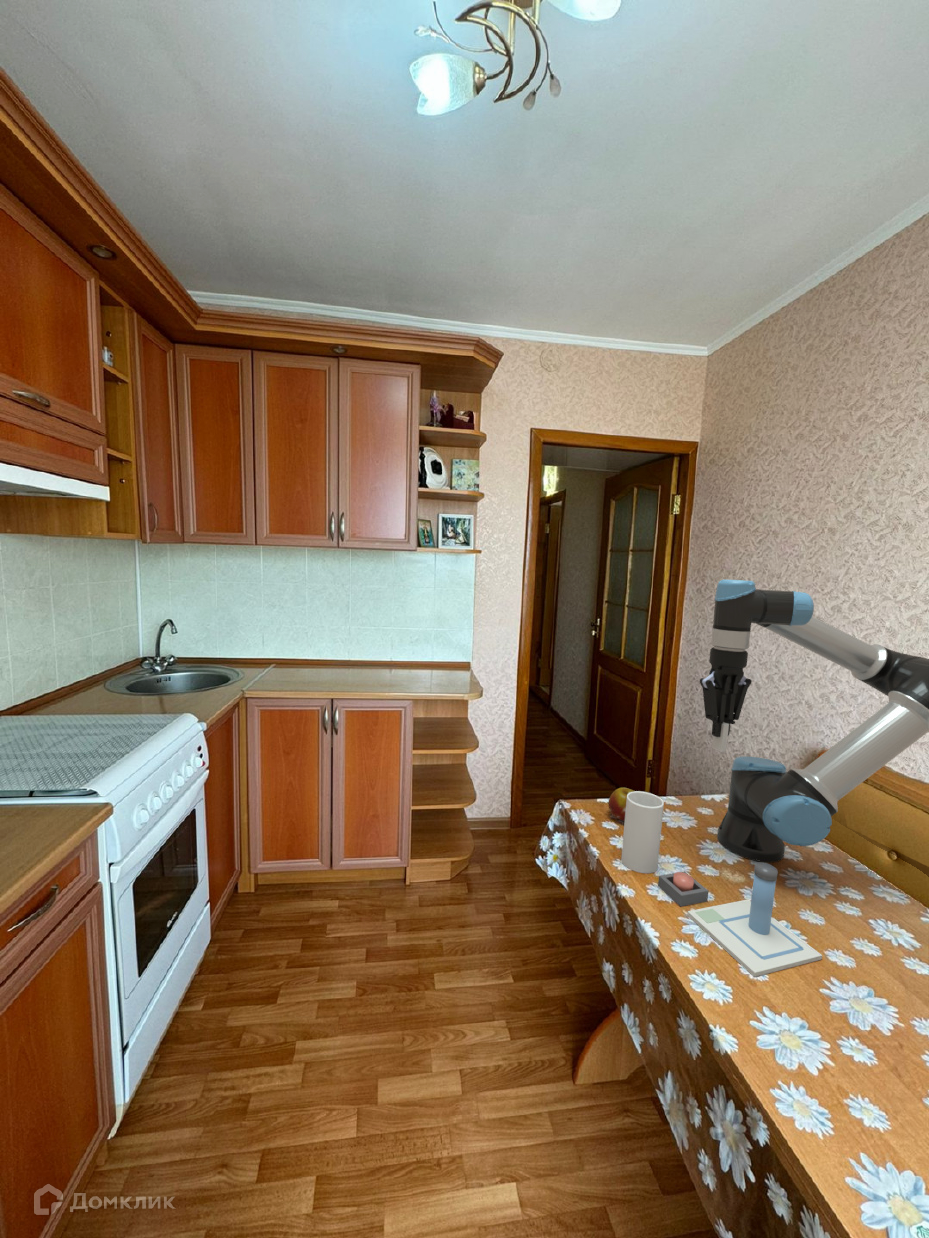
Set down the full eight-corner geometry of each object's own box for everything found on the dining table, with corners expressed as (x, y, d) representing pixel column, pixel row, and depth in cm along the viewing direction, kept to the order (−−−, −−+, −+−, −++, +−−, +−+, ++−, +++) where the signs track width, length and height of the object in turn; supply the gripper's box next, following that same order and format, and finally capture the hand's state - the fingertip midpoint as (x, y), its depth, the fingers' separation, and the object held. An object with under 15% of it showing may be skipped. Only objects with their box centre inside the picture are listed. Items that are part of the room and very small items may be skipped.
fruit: (636, 830, 135) (638, 801, 134) (602, 819, 140) (605, 792, 139) (644, 816, 143) (647, 789, 142) (613, 806, 148) (615, 780, 147)
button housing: (683, 881, 113) (684, 871, 113) (707, 901, 106) (708, 890, 106) (657, 885, 111) (658, 875, 111) (680, 906, 104) (681, 895, 104)
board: (748, 902, 107) (748, 898, 107) (821, 959, 92) (822, 954, 91) (687, 914, 102) (687, 910, 102) (754, 976, 87) (754, 972, 87)
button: (683, 881, 111) (684, 870, 111) (696, 892, 107) (698, 881, 107) (668, 884, 110) (669, 873, 110) (681, 895, 106) (682, 884, 106)
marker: (757, 919, 100) (764, 860, 99) (774, 932, 97) (782, 871, 95) (743, 923, 99) (750, 863, 98) (760, 937, 95) (768, 875, 94)
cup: (660, 876, 115) (667, 809, 113) (623, 870, 116) (629, 804, 115) (654, 856, 123) (660, 793, 121) (619, 850, 124) (625, 789, 123)
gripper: (737, 645, 118) (727, 742, 121) (693, 645, 114) (684, 746, 116) (765, 651, 111) (754, 753, 113) (719, 651, 107) (709, 758, 109)
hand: (718, 749), depth 115 cm, fingers closed
